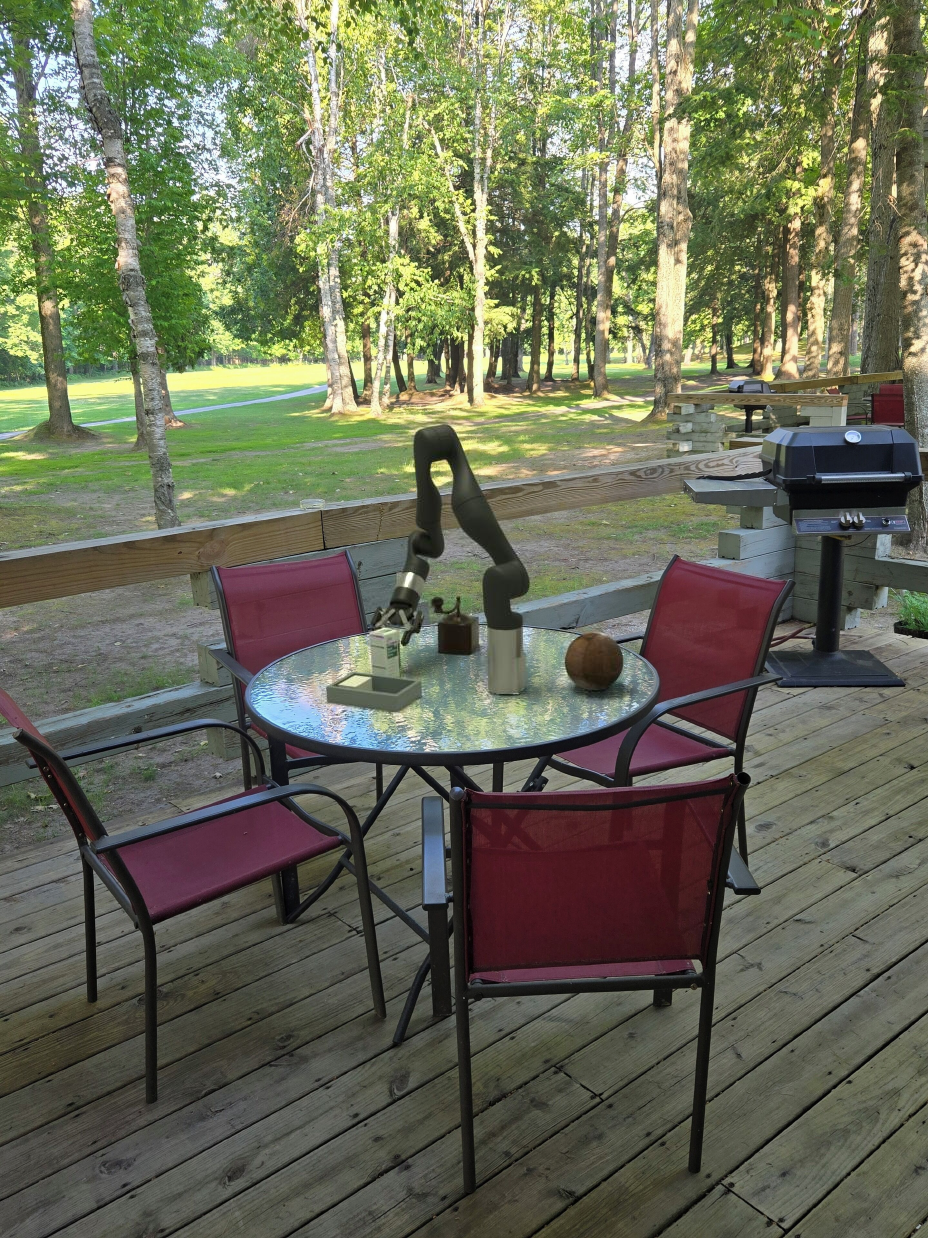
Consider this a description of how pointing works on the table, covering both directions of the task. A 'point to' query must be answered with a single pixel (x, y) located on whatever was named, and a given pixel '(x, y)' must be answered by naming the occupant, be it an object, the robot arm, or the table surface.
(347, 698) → the tray
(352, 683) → the cream rectangular block
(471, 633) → the manual coffee grinder
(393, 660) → the syrup box
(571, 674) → the wooden sphere
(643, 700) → the table surface
